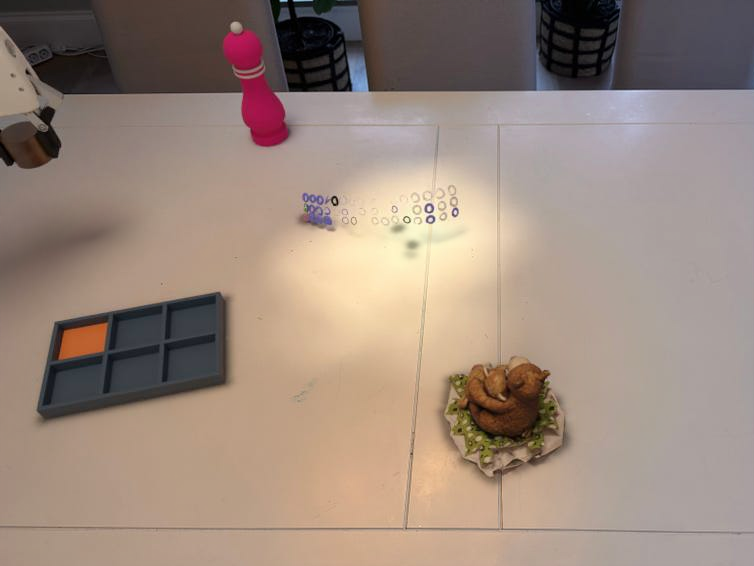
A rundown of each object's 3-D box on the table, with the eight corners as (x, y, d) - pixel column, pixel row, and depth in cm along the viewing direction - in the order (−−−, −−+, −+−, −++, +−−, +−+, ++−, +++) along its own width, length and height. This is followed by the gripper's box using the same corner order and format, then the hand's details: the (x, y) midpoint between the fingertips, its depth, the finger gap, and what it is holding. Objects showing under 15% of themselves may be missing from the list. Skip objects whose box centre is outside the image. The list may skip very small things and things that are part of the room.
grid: (224, 383, 86) (219, 374, 84) (45, 419, 83) (36, 410, 82) (224, 301, 95) (219, 291, 93) (62, 331, 92) (54, 321, 91)
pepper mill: (291, 122, 121) (259, 8, 105) (291, 145, 117) (257, 30, 101) (250, 127, 121) (212, 14, 105) (249, 151, 116) (209, 36, 100)
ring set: (290, 258, 103) (267, 183, 96) (330, 228, 112) (312, 158, 105) (437, 265, 93) (423, 184, 87) (468, 232, 102) (457, 156, 96)
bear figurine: (529, 355, 87) (532, 290, 78) (580, 449, 78) (590, 389, 69) (429, 386, 85) (420, 323, 75) (470, 487, 76) (464, 430, 66)
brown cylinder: (13, 172, 90) (-5, 146, 87) (19, 150, 93) (1, 124, 90) (52, 165, 91) (36, 139, 87) (57, 144, 94) (41, 118, 90)
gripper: (30, -4, 80) (102, 130, 95) (-125, 17, 78) (-27, 151, 93) (21, 25, 76) (97, 161, 90) (-144, 48, 74) (-39, 184, 88)
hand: (33, 155), depth 91 cm, fingers closed on brown cylinder, 5 cm apart
